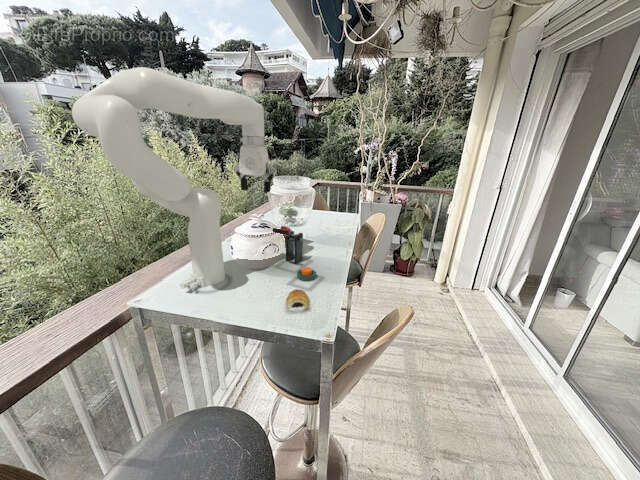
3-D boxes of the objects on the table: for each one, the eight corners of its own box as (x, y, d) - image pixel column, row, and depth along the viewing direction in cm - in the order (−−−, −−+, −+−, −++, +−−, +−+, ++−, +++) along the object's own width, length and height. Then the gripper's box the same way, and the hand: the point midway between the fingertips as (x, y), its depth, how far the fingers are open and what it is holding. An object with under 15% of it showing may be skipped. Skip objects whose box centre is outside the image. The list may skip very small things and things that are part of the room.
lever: (285, 235, 90) (287, 229, 90) (271, 232, 93) (273, 226, 93) (301, 243, 101) (303, 237, 101) (288, 240, 104) (290, 234, 104)
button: (308, 277, 90) (308, 272, 89) (299, 274, 91) (299, 269, 91) (313, 272, 93) (313, 268, 92) (304, 270, 94) (304, 266, 94)
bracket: (295, 272, 98) (295, 240, 94) (275, 266, 102) (275, 235, 97) (311, 261, 108) (312, 231, 104) (292, 256, 112) (292, 227, 108)
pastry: (287, 294, 84) (287, 284, 82) (308, 294, 84) (308, 284, 83) (286, 312, 75) (286, 301, 74) (309, 312, 76) (310, 300, 74)
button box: (309, 290, 87) (309, 281, 86) (289, 283, 90) (288, 275, 89) (323, 277, 95) (323, 270, 94) (304, 272, 99) (304, 264, 98)
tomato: (278, 237, 133) (277, 222, 130) (294, 239, 131) (294, 224, 128) (270, 243, 125) (270, 227, 122) (288, 245, 123) (288, 229, 120)
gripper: (226, 141, 92) (229, 190, 98) (270, 143, 87) (271, 194, 93) (239, 141, 99) (241, 187, 105) (280, 143, 94) (281, 191, 100)
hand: (255, 191), depth 99 cm, fingers open, 9 cm apart
